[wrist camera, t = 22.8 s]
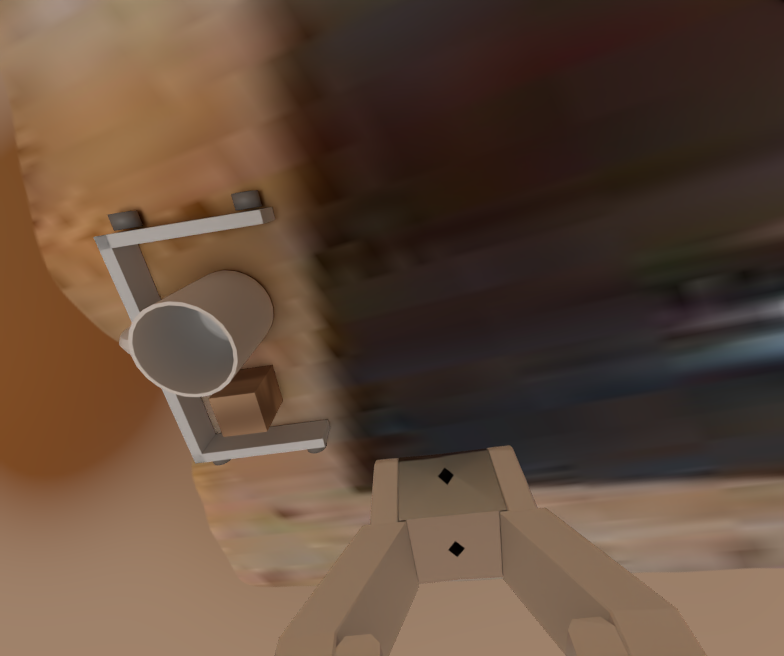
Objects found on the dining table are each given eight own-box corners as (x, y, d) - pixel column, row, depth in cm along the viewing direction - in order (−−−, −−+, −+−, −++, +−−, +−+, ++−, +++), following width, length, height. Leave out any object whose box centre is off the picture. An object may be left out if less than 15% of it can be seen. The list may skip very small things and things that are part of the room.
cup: (281, 342, 34) (247, 394, 26) (176, 347, 34) (109, 401, 26) (267, 266, 31) (224, 298, 23) (152, 272, 32) (69, 306, 23)
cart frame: (113, 214, 30) (84, 218, 27) (267, 188, 29) (254, 189, 26) (214, 453, 39) (200, 474, 36) (332, 438, 38) (328, 458, 36)
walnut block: (232, 370, 35) (208, 398, 31) (272, 364, 35) (254, 392, 31) (244, 404, 37) (223, 437, 32) (283, 399, 37) (267, 431, 32)
